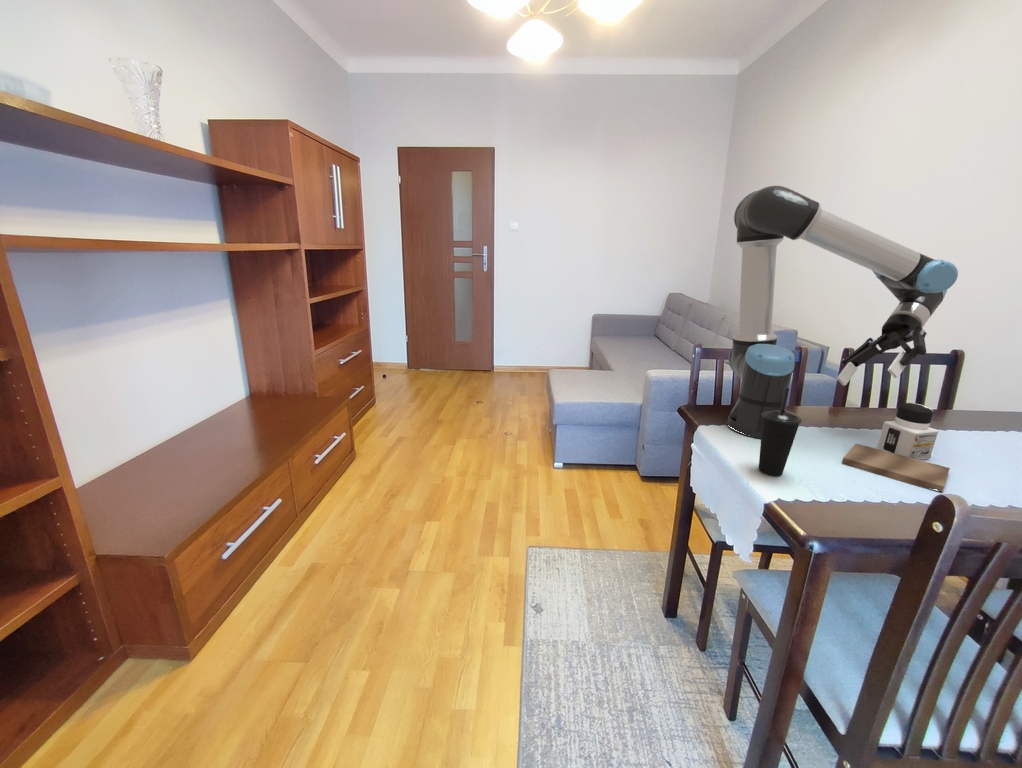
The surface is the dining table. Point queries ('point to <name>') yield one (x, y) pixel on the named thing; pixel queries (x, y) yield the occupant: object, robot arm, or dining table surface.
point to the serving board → (897, 467)
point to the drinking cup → (777, 438)
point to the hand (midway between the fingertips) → (865, 378)
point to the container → (909, 432)
